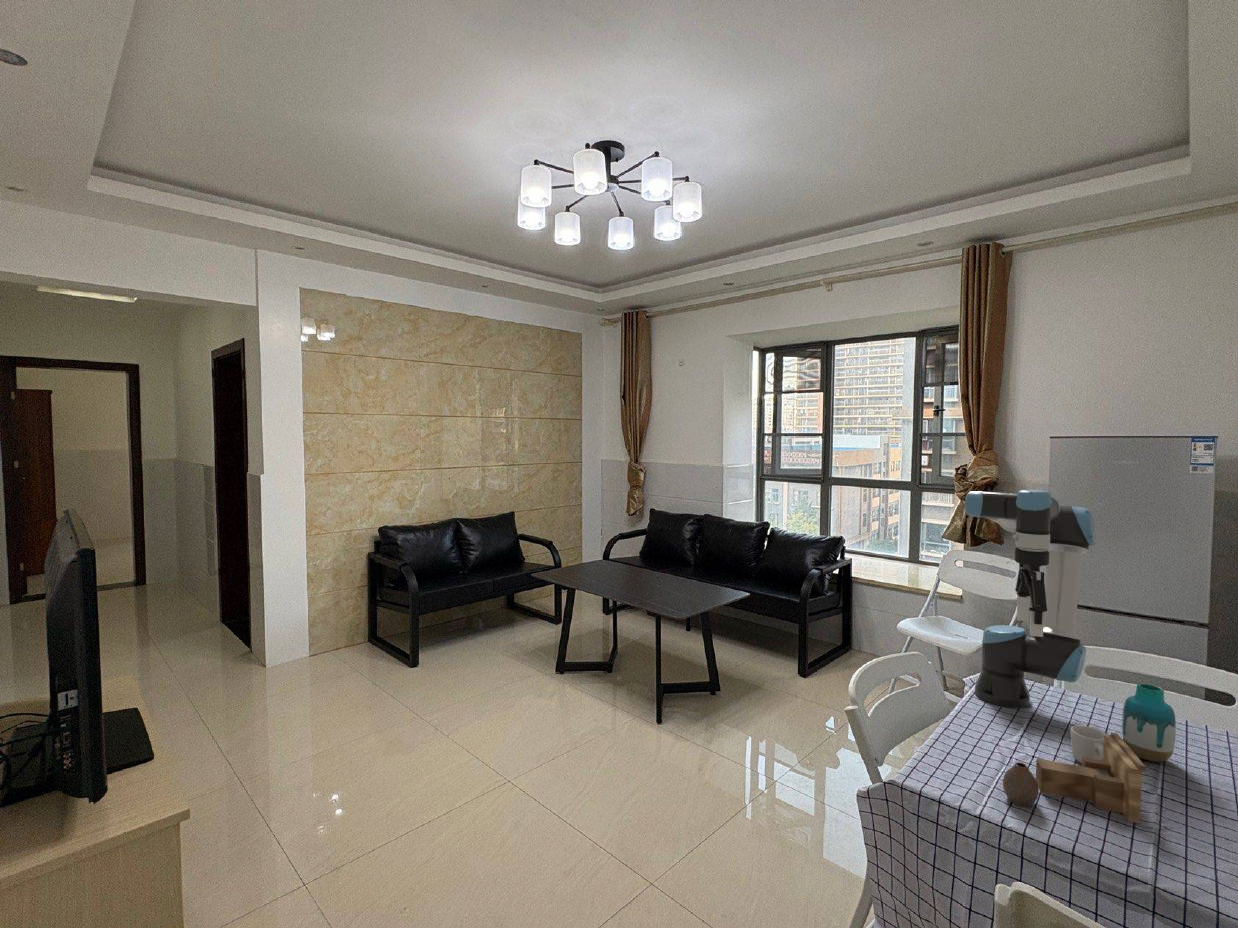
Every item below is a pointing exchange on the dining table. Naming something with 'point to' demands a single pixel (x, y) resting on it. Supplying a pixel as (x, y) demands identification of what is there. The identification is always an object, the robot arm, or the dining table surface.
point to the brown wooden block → (1066, 779)
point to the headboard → (1117, 779)
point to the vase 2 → (1149, 724)
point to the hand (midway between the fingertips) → (1029, 627)
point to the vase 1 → (1020, 785)
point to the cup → (1087, 742)
